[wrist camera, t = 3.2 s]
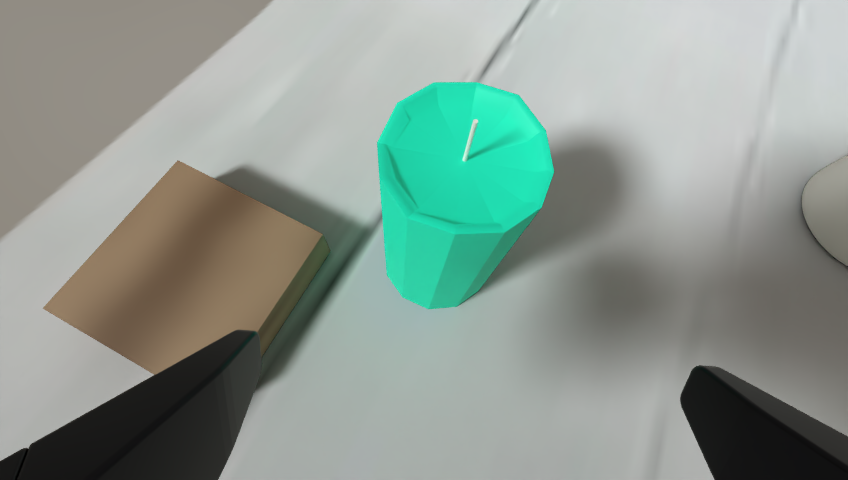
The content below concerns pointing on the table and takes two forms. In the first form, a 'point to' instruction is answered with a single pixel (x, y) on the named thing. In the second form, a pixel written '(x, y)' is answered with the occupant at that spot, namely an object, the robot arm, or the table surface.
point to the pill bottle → (829, 208)
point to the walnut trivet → (190, 272)
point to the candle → (457, 187)
